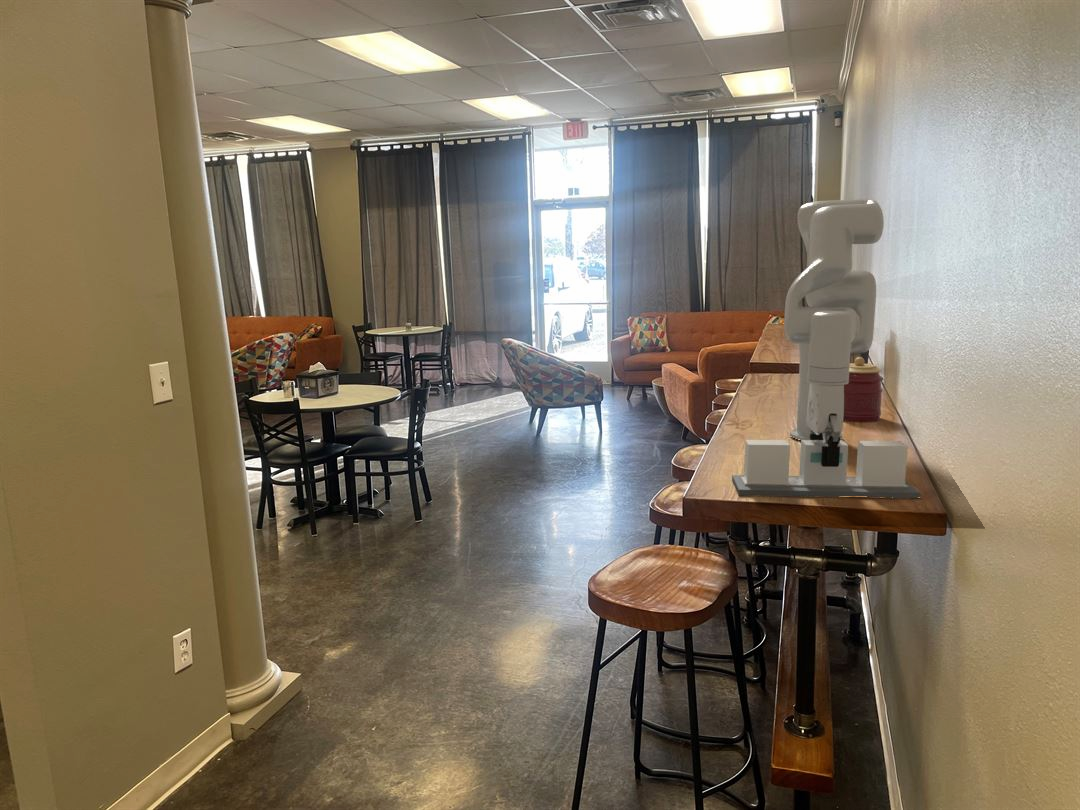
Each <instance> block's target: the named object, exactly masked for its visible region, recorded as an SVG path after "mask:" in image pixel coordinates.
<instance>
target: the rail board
mask: <svg viewBox="0 0 1080 810" xmlns="http://www.w3.org/2000/svg"><path fill="white" fill-rule="evenodd" d="M741 477H744V475H743V474H732V475H731V482H732V483H733V486H734V488H735V490H736V493H737V495H738V496H745V497H746V496H747V497H748V496H749V497H750V496H753V497H795V498H796V497H801V498H802V497H803V498H804V497H807V498H809V497H810V496H811V497H810V498H815V497H816V496H818V497H816V498H840V497H839V496H867V497H888V498H887V499H903V498H918V497H921V498H922V492H921V491H920V490H919V489H917V488H916V487H915V486H914V485H912V484H911V483H910V482H909V481H907V480H906V479H905V484H906V485H907V486H908V489H897V488H838V487H779V486H745V485H744V483H743V481H742V479H741ZM789 477H790V478H799V475H789ZM846 478H855V479H856V476H846ZM892 497H893V498H892Z"/></svg>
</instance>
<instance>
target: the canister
mask: <svg viewBox="0 0 1080 810" xmlns="http://www.w3.org/2000/svg"><path fill="white" fill-rule="evenodd" d="M881 372H882V371H881V368H879V367H877V365H875V364H871V363H865V359H864V358H863V357H862V356H858V357H856V358H855V359H854V362H853V363H851V362H850V368H849V383H848V384H845V385H844V416H843V421H845V420H846V422H854V423H855V422H856V423H870V422H872V423H873V422H877V421H879V420H880V418H881V416H882V398H883V397H882V396H883V395H882V394H883V391H884V390H883V388H882V382H883V381H884V377H883V376H881V375H880V373H881Z"/></svg>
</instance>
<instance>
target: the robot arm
mask: <svg viewBox="0 0 1080 810" xmlns="http://www.w3.org/2000/svg"><path fill="white" fill-rule="evenodd" d="M884 222H885V221H884V214H883V209H882V207H881V205H880V204H879V202H878V201H877V200H875V199H872V198H864V199H863V198H861V199H860V198H858V199H834V200H833V199H832V200H831V199H830V200H819V201H818V200H817V201H816V200H815V201H811V202H807V203H805V204H803V205H801V206H800V207H799V209H798V211H797V226H798V230H799V233H800V236H801V239H802V241H803V243H804V246H805V249H806V258H807V259H806V268H805V269H804V270H803V271H802V272H801V273H800V274H799V275H798V276H797V277H796V278H795V279H794V281H793V282H792V284H791V286H790V287H789V288H788V291H787V294H786V297H785V302H784V303H785V305H784V320H783V321H784V322H783V323H784V324H783V326H784V329H783V330H784V335H785V338H786V339H787V340H788V341H789V342H790V343H791V344H792V343H793V344H797V345H798V351H799V352H798V353H799V354H798V355H799V368H798V369H799V370H798V372H799V373H798V374H799V375H798V389H797V390H798V391H797V392H798V393H797V394H798V396H797V414H796V428H795V429H792V430H791V431H790V432H789V436H790V437H791V436H792V437H794V438H797V439H800V440H823V442H824V446H822V455H821V465H822V466H823V467H838V466H839V456H840V440H842V441H843V434H842V432H843V427H844V420H843V416H844V385H845V384H848V383H849V368H850V363H851V354H863V353H866V352H868V351H869V350H870V349H871V347H872V344H873V340H874V333H875V332H874V331H875V317H876V303H877V282H876V278H875V275H873V274H872V273H871V272H870V271H867V270H862V269H861V270H857V269H856V270H852V269H853V245H872V244H876V243H877V242H880V241H879V240H880V239H881V237H882V235H883V231H884ZM804 298H805V301H806V304H807V306H800V302H801V301H802V299H804Z"/></svg>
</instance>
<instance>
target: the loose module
mask: <svg viewBox="0 0 1080 810" xmlns="http://www.w3.org/2000/svg"><path fill="white" fill-rule="evenodd" d="M822 446H824V442H823V440H801V441H800V457H799V459H800V461H799V474H798V476H799V478H800V480H801V481H802V482H803V484H836V485H846V477H847V469H848V458H849V457H848V456H849V445H848V444H847V443H846V442H845V441H844V440H843V439H842V440H840V456H839V466H838V467H823V466H822V465H821V455H822Z"/></svg>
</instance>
